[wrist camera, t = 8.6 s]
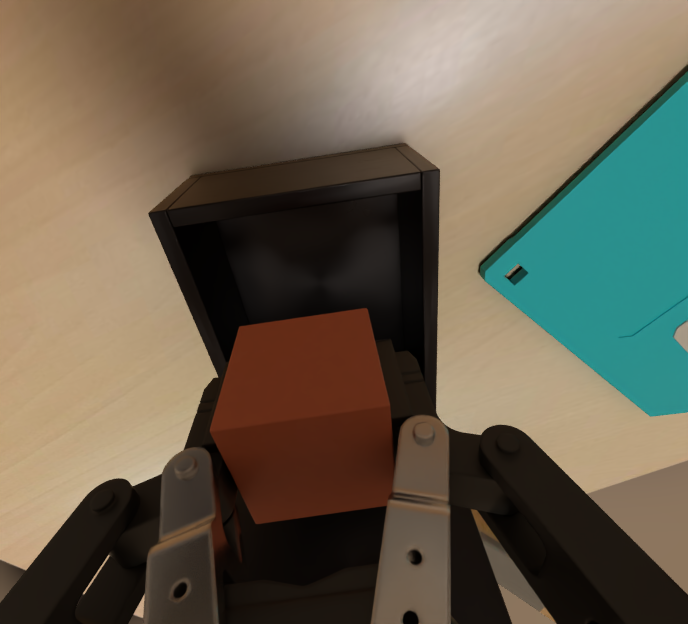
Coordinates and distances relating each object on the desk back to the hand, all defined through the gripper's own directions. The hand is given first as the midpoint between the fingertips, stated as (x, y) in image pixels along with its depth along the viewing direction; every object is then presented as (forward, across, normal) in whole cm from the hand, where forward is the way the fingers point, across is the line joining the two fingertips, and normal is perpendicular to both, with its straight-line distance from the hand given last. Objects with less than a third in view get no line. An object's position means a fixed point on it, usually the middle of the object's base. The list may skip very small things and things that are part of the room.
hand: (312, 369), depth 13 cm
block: (0, 0, 0) cm, 0 cm away
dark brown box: (+13, 0, +3) cm, 13 cm away
